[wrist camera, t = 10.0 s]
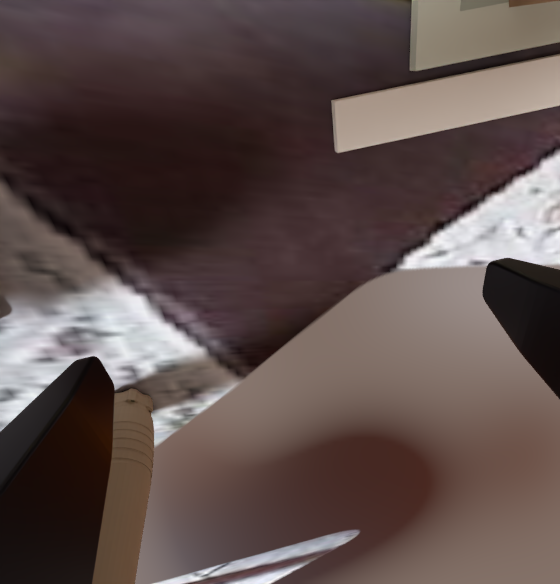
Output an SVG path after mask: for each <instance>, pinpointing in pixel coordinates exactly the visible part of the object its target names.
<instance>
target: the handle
mask: <svg viewBox="0 0 560 584" xmlns="http://www.w3.org/2000/svg"><path fill="white" fill-rule="evenodd" d="M152 411H153V401H152V398H151V397H150V396H149V395H144V394H142V393H140V392H139V391H138V390H137V389H129V390H127V391H125V392H121V393H115V398H114V424H113V448H112V460H111V467H110V474H109V480H108V486H107V493H106V499H105V505H104V512H103V518H102V524H101V531H100V537H99V543H98V550H97V556H96V563H95V569H94V575H93V582H92V584H135V578H136V572H137V565H138V559H139V552H140V546H141V539H142V534H143V528H144V522H145V516H146V510H147V504H148V498H149V492H150V486H151V478H152V468H153V457H154V427H153V420H152V417H151V412H152Z"/></svg>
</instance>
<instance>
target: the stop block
mask: <svg viewBox="0 0 560 584" xmlns="http://www.w3.org/2000/svg"><path fill="white" fill-rule="evenodd" d="M553 1H560V0H509V7H516V6H523V5H531V4H538V3H546V2H553Z"/></svg>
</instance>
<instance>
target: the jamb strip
mask: <svg viewBox="0 0 560 584" xmlns="http://www.w3.org/2000/svg"><path fill="white" fill-rule="evenodd" d="M331 104H332V118H333V132H334V146H335V151H336V152H337V153H340V152H345V151H350V150H354V149H359V148H364V147H368V146H373V145H378V144H382V143H387V142H392V141H396V140H401V139H406V138H410V137H415V136H420V135H424V134H429V133H434V132H438V131H443V130H448V129H452V128H457V127H462V126H466V125H471V124H475V123H480V122H485V121H489V120H494V119H499V118H503V117H508V116H513V115H517V114H522V113H527V112H531V111H536V110H541V109H545V108H550V107H555V106H559V105H560V54H556V55H551V56H546V57H541V58H536V59H532V60H527V61H522V62H517V63H512V64H507V65H502V66H497V67H492V68H487V69H483V70H478V71H473V72H468V73H463V74H458V75H453V76H448V77H443V78H438V79H434V80H429V81H424V82H419V83H414V84H409V85H404V86H399V87H394V88H389V89H385V90H380V91H375V92H370V93H365V94H360V95H355V96H350V97H345V98H340V99H336V100H331Z"/></svg>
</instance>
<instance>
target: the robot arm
mask: <svg viewBox="0 0 560 584" xmlns="http://www.w3.org/2000/svg"><path fill="white" fill-rule="evenodd" d="M483 297H484V300H485V302H486V304H487V305H488V306H489V308H490V309H491V311H492V312H493V314H494V315H495V317H496V318H497V320H498V321H499V323H500V324H501V326H502V327H503V328H504V330H505V331H506V333H507V334H508V336H509V337H510V339H511V340H512V342H513V343H514V344H515V346H516V347H517V349H518V350H519V351H520V353H521V354H522V355H523V356H524V358H525V359H526V360H527V361H528V363H529V364H530V365H531V366H532V367H533V368H534V370H535V371H536V372H537V373H538V374H539V375H540V377H541V378H542V379H543V380H544V381H545V383H546V384H547V385H548V386H549V387H550V388H551V390H552V391H553V392H554V393H555V394H556V396H558V398H559V399H560V270H558V269H554V268H550V267H546V266H541V265H537V264H533V263H529V262H524V261H520V260H516V259H511V258H504V259H499V260H495V261H492V262H490V263H489V264H488V266H487V268H486V274H485V280H484V285H483ZM114 398H115V389H114V384H113V382H112V380H111V378H110V376H109V375H108V373H107V371H106V369H105V368H104V366H103V364H102V363H101V361H100V360H99V359H98V358H97V357H95V356H91V357H87V358H83V359H79V360H76V361H75V362H73V363H72V364H71V365H70V366H69V367H68V368H67V369H66V370H65V371H64V372H63V373H62V374H61V375H60V376H59V377H58V378H57V379H56V380H54V381H53V382H52V383H51V384H50V385H49V386H48V387H47V388H46V389H45V390H44V391H43V392H42V393H41V394H40V395H39V396H38V397H37V398H36V399H35V400H34V401H32V402H31V403H30V404H29V405H28V406H27V407H26V408H25V409H24V410H23V411H22V412H21V413H20V414H19V415H18V416H17V417H16V418H15V419H14V420H13V421H11V422H10V423H9V424H8V425H7V426H6V427H5V428H4V429H3V430H2V431H1V432H0V584H92V582H93V575H94V569H95V563H96V556H97V550H98V543H99V537H100V531H101V524H102V518H103V512H104V505H105V499H106V493H107V486H108V480H109V474H110V467H111V460H112V448H113V424H114Z"/></svg>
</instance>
